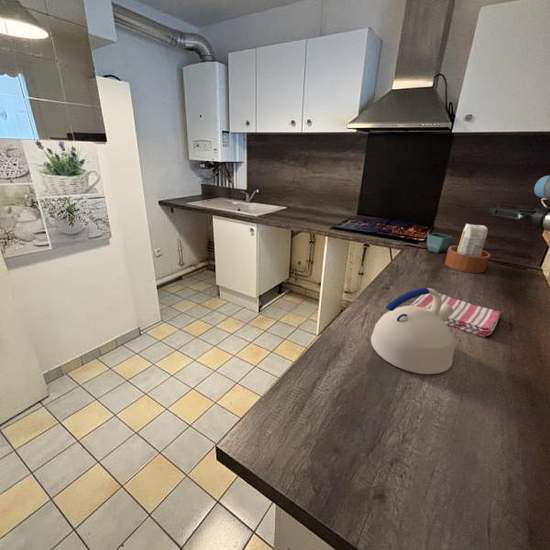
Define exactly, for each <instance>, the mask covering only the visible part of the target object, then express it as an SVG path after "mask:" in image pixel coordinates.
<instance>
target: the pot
mask: <svg viewBox="0 0 550 550" xmlns="http://www.w3.org/2000/svg"><path fill="white" fill-rule="evenodd" d="M458 246H459V245H451V246H449V247H448V249H447V252H446V256H445V259H444V265H446V266H447V267H448V268H451V269H453V270H455V271H460V272H464V273H471V274H481V273H485V272H486V269H487V267H488V264H489V261H490V258H491V253H489V252H488V251H486V250H483V249H482V252H481V255H480V257H474V256H468V255H463V254H460V253H457V250H458Z"/></svg>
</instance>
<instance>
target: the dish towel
mask: <svg viewBox="0 0 550 550" xmlns="http://www.w3.org/2000/svg"><path fill="white" fill-rule="evenodd" d="M438 293H439V292H438ZM439 295H440V297H441V299H442V305H443V303H447V304H449V305H450V306H451V307H452V308H453V310H454V313H451V314H450V315H449V316H448V317H447V318H446V319H445V320H444V322H445V323H446V325H447V326H448V325H449V326H450V327H454V328H457V329H460V330H462V331H464V332H467V333H470V334H472V335H475V336H480V337H482V338H485V337H488V336H490V335H491V334H493V331H494V330H495V328H496V326H497V324H498V321H499V319H500V315H501V313H502V311H499V310H494V309H491V308H487V307H483V306H479V305H475V304H472V303H470V302H467V301H463V300H460V299H457V298H454V297H451V296H449V295H446V294H443V293H439ZM432 303H433V296H432V294H424V295H420V296H418V298H416V299H415V300H414V301H413V302H412V303H411V304H410V305H409V306H417V307H422V308H425V309H430V308H431V306H432Z"/></svg>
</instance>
